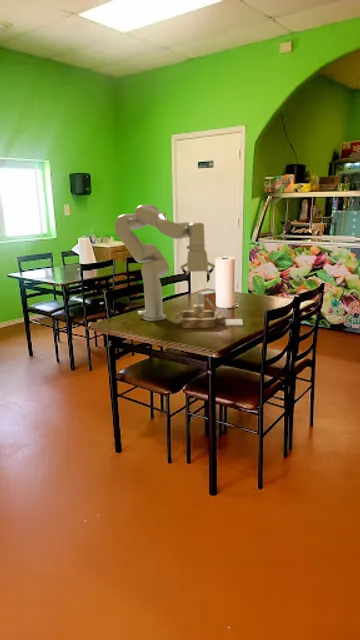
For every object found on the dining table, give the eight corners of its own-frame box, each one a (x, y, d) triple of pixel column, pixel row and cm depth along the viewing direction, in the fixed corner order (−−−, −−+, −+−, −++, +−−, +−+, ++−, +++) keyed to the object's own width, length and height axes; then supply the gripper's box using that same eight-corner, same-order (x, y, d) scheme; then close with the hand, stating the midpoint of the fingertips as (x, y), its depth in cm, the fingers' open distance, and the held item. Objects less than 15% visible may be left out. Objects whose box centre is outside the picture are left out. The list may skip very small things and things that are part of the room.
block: (193, 325, 224) (193, 306, 221) (194, 322, 230) (193, 304, 227) (203, 325, 224) (203, 306, 221) (203, 322, 229) (203, 303, 227)
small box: (204, 317, 239) (204, 294, 236) (197, 315, 244) (197, 292, 241) (216, 315, 243) (216, 292, 240) (209, 312, 248) (209, 290, 245)
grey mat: (225, 326, 221) (225, 324, 220) (224, 321, 230) (224, 319, 230) (243, 326, 220) (243, 324, 220) (241, 320, 230) (241, 318, 229)
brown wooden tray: (175, 329, 218) (174, 319, 217) (178, 319, 237) (177, 310, 235) (221, 328, 216) (221, 319, 215) (220, 318, 235) (220, 309, 234)
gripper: (179, 249, 213) (180, 284, 218) (214, 248, 212) (215, 283, 216) (180, 248, 221) (181, 281, 225) (214, 246, 219) (215, 280, 224)
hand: (198, 282), depth 221 cm, fingers open, 9 cm apart
